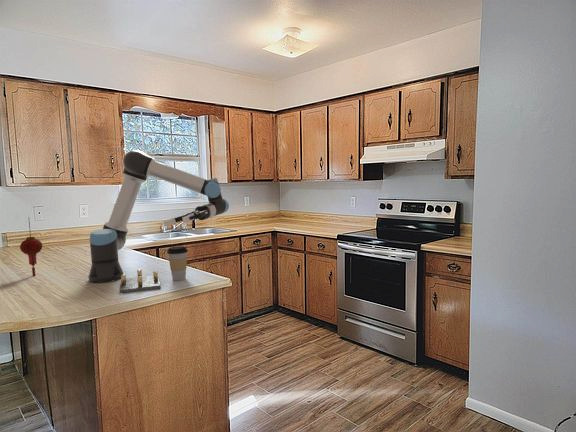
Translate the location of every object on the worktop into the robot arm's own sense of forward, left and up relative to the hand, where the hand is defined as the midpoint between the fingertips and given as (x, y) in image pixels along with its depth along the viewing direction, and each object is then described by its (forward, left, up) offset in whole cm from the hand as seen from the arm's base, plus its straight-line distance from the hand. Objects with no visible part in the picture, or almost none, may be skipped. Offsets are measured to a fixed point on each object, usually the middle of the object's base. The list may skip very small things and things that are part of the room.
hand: (173, 222), depth 178 cm
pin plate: (+6, -16, -27) cm, 32 cm away
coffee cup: (+3, +1, -27) cm, 27 cm away
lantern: (-40, -66, -27) cm, 82 cm away
